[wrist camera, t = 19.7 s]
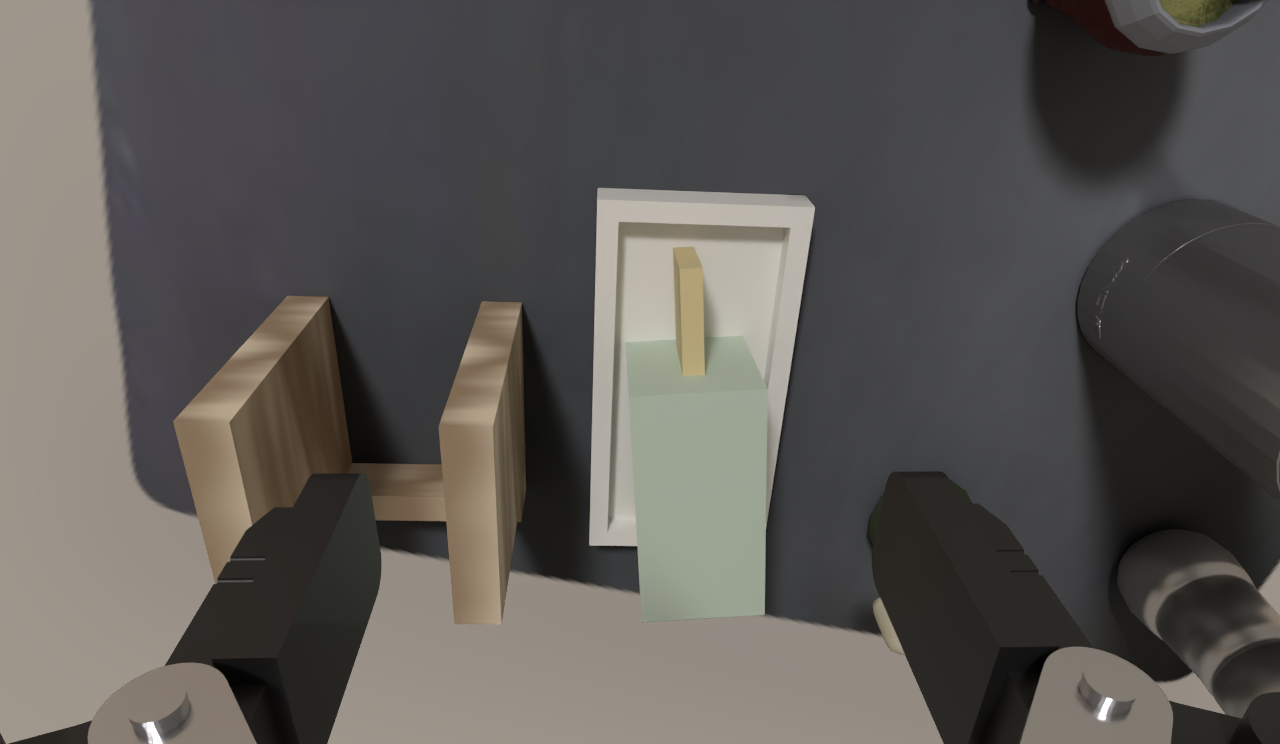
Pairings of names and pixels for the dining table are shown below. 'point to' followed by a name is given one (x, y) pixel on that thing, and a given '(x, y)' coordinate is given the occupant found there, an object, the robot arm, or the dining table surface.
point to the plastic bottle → (1205, 613)
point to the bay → (319, 443)
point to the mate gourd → (1157, 22)
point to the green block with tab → (698, 465)
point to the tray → (645, 311)
